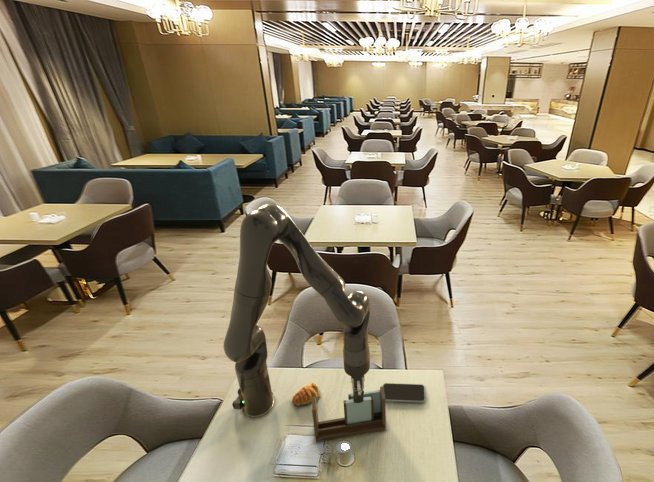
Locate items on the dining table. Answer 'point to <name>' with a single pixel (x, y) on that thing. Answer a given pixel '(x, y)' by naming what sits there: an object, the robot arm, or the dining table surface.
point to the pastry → (306, 395)
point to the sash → (358, 410)
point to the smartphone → (404, 392)
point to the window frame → (340, 430)
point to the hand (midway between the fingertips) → (358, 398)
